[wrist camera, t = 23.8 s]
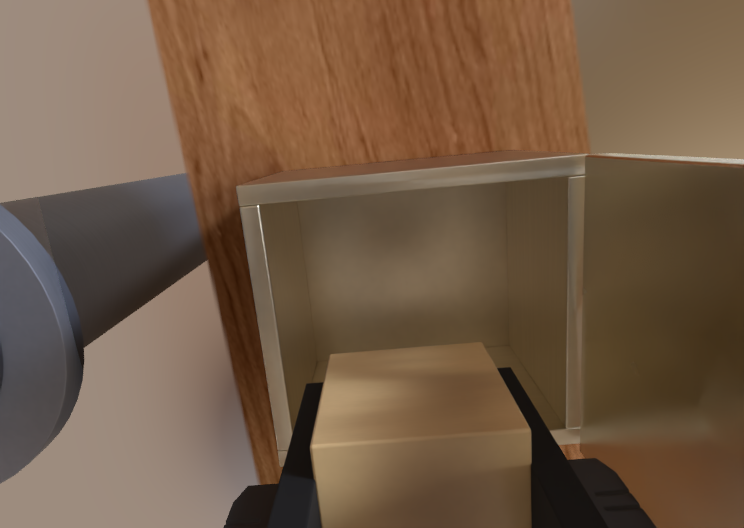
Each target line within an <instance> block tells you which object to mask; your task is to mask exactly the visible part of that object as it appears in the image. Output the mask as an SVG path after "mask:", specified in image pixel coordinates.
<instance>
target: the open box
mask: <svg viewBox="0 0 744 528" xmlns="http://www.w3.org/2000/svg"><path fill="white" fill-rule="evenodd" d="M586 155H589V154H585V153H565V152H545V151H526V150H508V151H497V152H486V153H475V154H464V155H454V156H443V157H432V158H421V159H410V160H399V161H388V162H378V163H367V164H356V165H345V166H334V167H323V168H312V169H301V170H291V171H282V172H279V173H275V174H272V175H269V176H266V177H263V178H260V179H257V180H254V181H250V182H247V183H244V184H241V185H238V186H236V191H237V197H238V203H239V206H241V207H240V214H241V220H242V227H243V233H244V239H245V246H246V252H247V258H248V265H249V271H250V277H251V284H252V290H253V296H254V303H255V309H256V315H257V322H258V328H259V334H260V340H261V347H262V353H263V359H264V366H265V372H266V378H267V385H268V391H269V397H270V404H271V410H272V416H273V423H274V429H275V435H276V442H277V448H278V456H279V462H280V466H281V467H283V466H284V463H285V459H286V456H287V452H288V448H289V445H290V441H291V437H292V434H293V430H294V427H295V423H296V419H297V416H298V412H299V409H300V405H301V401H302V398H303V394H304V390H305V387H306V384H307V383H320V382H324V377H325V373H326V368H327V363H328V359H329V355H331V354H339V353H352V352H364V351H376V350H389V349H401V348H413V347H425V346H438V345H450V344H462V343H475V342H482V343H483V344H484V346H485V348H486V350H487V352H488V353H489V355H490V357H491V359H492V361H493V362H494V364H495V366H496V368H504V367H511V369H512V370H513V372H514V374H515V375H516V377H517V379H518V380H519V382H520V383H521V385H522V387H523V388H524V390H525V392H526V393H527V395H528V397H529V398H530V400H531V401H532V403H533V405H534V406H535V408H536V410H537V411H538V413H539V415H540V416H541V418H542V419H543V421H544V423H545V424H546V426H547V428H548V429H549V431H550V433H551V434H552V436H553V437H554V439H555V441H556V442H557V444H558V445H564V444H577V443H580V409H581V355H582V301H583V247H584V193H585V156H586Z"/></svg>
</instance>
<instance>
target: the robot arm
mask: <svg viewBox="0 0 744 528" xmlns="http://www.w3.org/2000/svg"><path fill="white" fill-rule="evenodd" d="M497 370H498V371H499V373H500V375H501V377H502V379H503V380H504V382H505V384H506V386H507V388H508V389H509V391H510V393H511V395H512V396H513V398H514V400H515V402H516V404H517V405H518V407H519V409H520V411H521V413H522V414H523V416H524V418H525V420H526V422H527V423H528V425H529V427H530V429H531V441H532V463H531V513H532V528H657V527H656V526H655V524H654V523H653V522H652V520H651V519H650V518H649V516H648V515H647V514H646V512H645V511H644V509H643V508H640V504H639V503H638V501H637V500H636V499H635V497H634V496H633V495H632V493H630V492H629V489H628V488H627V486H626V485H625V484H624V482H623V481H622V480H621V478H620V477H619V476H618V474H617V473H616V472H615V471H614V470H612V469H611V468H609V467H608V466H607V465H605V464H604V463H602V462H601V461H600V460H598V459H597V458H588V459H575V460H567V459H566V457H565V455H564V454H563V452H562V451H561V449H560V447H559V446H558V444H557V442H556V441H555V439H554V437H553V436H552V434H551V433H550V431H549V429H548V428H547V426H546V424H545V423H544V421H543V419H542V418H541V416H540V415H539V413H538V411H537V410H536V408H535V406H534V405H533V403H532V401H531V400H530V398H529V397H528V395H527V393H526V392H525V390H524V388H523V387H522V385H521V383H520V382H519V380H518V379H517V377H516V375H515V374H514V372H513V370H512V369H511V367H504V368H497ZM2 380H3V354H2V347H1V343H0V390H1V385H2ZM322 387H323V382H320V383H307V384H306V387H305V390H304V394H303V398H302V401H301V405H300V409H299V412H298V416H297V419H296V423H295V427H294V430H293V434H292V437H291V441H290V445H289V448H288V452H287V456H286V459H285V463H284V466H283V470H282V474H281V477H280V481H279V484H267V485H255V486H248V487H247V488H246V489H245V490H244V491H243V492H242V493H241V495H240V496H239V497H238V498H237V499H236V500H235V501H234V502H233V505H232V507H231V510H230V512H229V515H228V518H227V520H226V525H224V528H322V527H321V520H320V513H319V505H318V498H317V491H316V483H315V480H314V477H313V469H312V462H311V454H310V443H311V439H312V434H313V429H314V424H315V420H316V415H317V410H318V406H319V401H320V396H321V391H322Z"/></svg>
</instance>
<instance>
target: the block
mask: <svg viewBox="0 0 744 528" xmlns="http://www.w3.org/2000/svg"><path fill="white" fill-rule="evenodd" d="M310 454H311V462H312V469H313V477H314V480H315V483H316V491H317V498H318V505H319V513H320V520H321V527H322V528H532V513H531V463H532V441H531V429H530V427H529V425H528V423H527V422H526V420H525V418H524V416H523V414H522V413H521V411H520V409H519V407H518V405H517V404H516V402H515V400H514V398H513V396H512V395H511V393H510V391H509V389H508V388H507V386H506V384H505V382H504V380H503V379H502V377H501V375H500V373H499V371H498V370H497V368H496V366H495V364H494V362H493V361H492V359H491V357H490V355H489V353H488V352H487V350H486V348H485V346H484V344H483V343H482V342H475V343H462V344H450V345H438V346H425V347H413V348H401V349H389V350H376V351H364V352H352V353H339V354H331V355H329V359H328V363H327V368H326V373H325V377H324V382H323V387H322V391H321V396H320V401H319V406H318V410H317V415H316V420H315V424H314V429H313V434H312V439H311V443H310Z"/></svg>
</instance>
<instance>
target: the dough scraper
mask: <svg viewBox="0 0 744 528" xmlns="http://www.w3.org/2000/svg"><path fill="white" fill-rule="evenodd" d="M580 451H581V453H582V454H583V456H584V457H585V459H588V458H597V459H598V460H600V461H601V462H602V463H604V464H605V465H607V466H608V467H609V468H611V469H612V470H614V471H615V472H616V473H617V474H618V476H619V477H620V478H621V480H622V481H623V482H624V484H625V485H626V486H627V488H628V489H629V492H630V493H632V495H633V496H634V497H635V499H636V500H637V501H638V503H639V504H640V508H643V509H644V511H645V512H646V514H647V515H648V516H649V518H650V519H651V520H652V522H653V523H654V524H655V526H656V527H657V528H744V159H723V158H702V157H680V156H657V155H636V154H635V155H634V154H614V153H600V154H589V155H586V156H585V193H584V247H583V301H582V355H581V409H580Z"/></svg>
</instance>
